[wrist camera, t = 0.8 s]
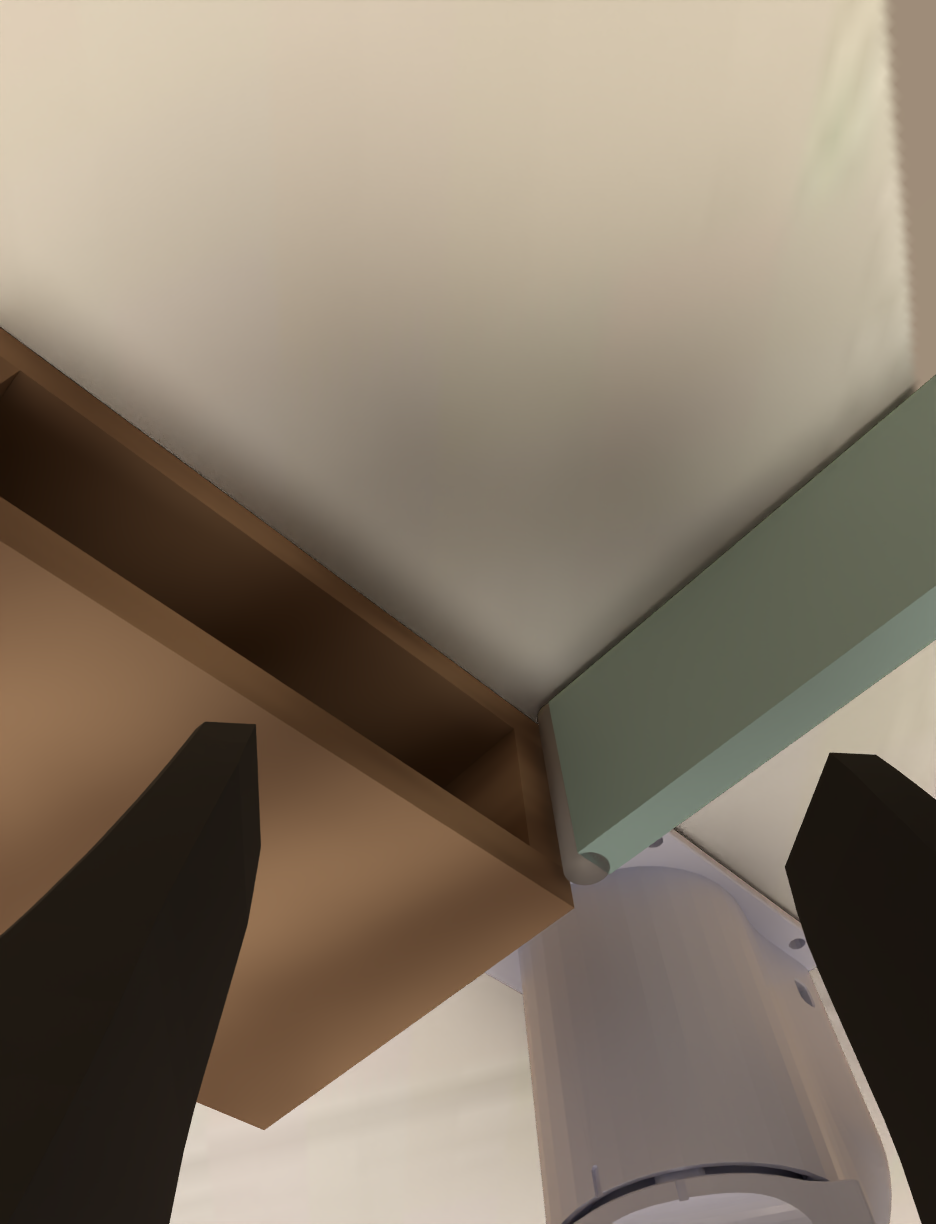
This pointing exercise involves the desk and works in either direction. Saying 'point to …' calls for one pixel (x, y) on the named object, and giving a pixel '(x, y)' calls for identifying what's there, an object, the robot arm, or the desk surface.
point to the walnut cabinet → (286, 742)
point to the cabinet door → (751, 649)
